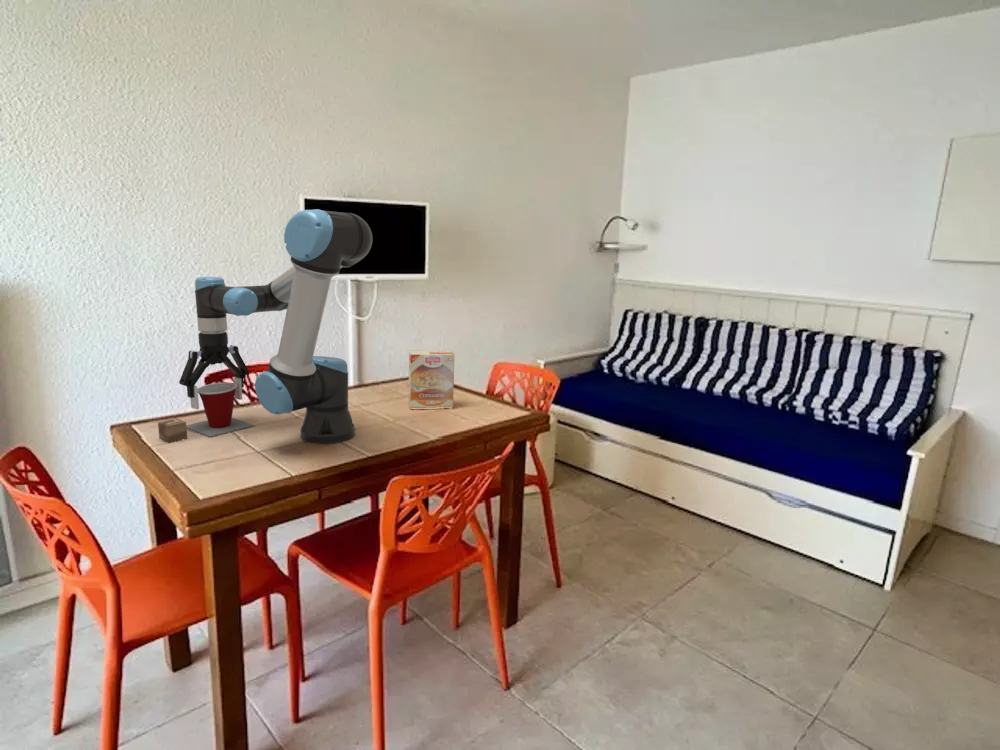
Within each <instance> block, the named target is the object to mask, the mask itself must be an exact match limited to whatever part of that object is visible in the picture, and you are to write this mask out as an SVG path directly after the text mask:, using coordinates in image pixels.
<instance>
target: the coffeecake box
mask: <svg viewBox="0 0 1000 750" xmlns="http://www.w3.org/2000/svg"><path fill="white" fill-rule="evenodd" d="M454 378H455V354H454V352H453V351H452V350H409V351H408V407H409V410H410V409H412V408H436V407H454V383H455V379H454Z"/></svg>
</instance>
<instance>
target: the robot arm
mask: <svg viewBox="0 0 1000 750" xmlns="http://www.w3.org/2000/svg"><path fill="white" fill-rule="evenodd" d="M283 233H284V234H283V241H284V244H286V245H285V249H286V251H287V253H288V255H289V256H290V260H289V261H290V262H291V264H292V265H293V266H291V267H290V268H288V270H286V271H284V272H283V273H282V274H280V275H279V276H278V277H276V278H275V279H274V280H272V281H270V282H269V283H267V284H264V285H262V284H261V285H247V286H246V285H245V286H244V285H243V286H228V285H226V284H225V279H224V278H223V277H219V276H200V277H199V276H198V277H197V278H195V280H194V285H195V287H194V289H195V290H194V295H195V307H196V315H197V319H196V320H197V330H198V331H199V333H198V334H197V335H198V344H199V350H198V351H197V350H196V351H195V350H189V351H188V357H187V358H188V359H187V360H186V363H185V366H184V368H183V371H182V373H181V376H180V379H179V382H178V383H179V385H182V386H185V387H186V393H187V395H186V396H187V397H188V398H189V399H190V408H191V409H195V410H199V409H200V403H199V393H198V388H199V387H198V386H196V384H197V382H198V381H199V379H200V378H201V377H202V375H203V374H204V372H205V371H206V369H207V368H208V367H209V366H211V365H216V364H224V365H225V366H226V367H227V368H228V369H229V370H230V372H232V373H233V375H235V377H234V376H233V383H235V384H236V385H237V387H236V390H235V396H234V399H235V400H239V401H240V400H243V390H242V389H243V388H244V387H245V384H244V383H245V382H244V381H245V380H244V379H246V377H247V376H248V375H250V370H249V369H248V367H247V364H246V363H245V362H244V360H243V358H242V356H241V355H240V351H239V347H238V346H236V345H232V344H230V346H228V344H229V339H228V335H229V334H228V332H227V330H228V321H227V319H228V318H227V315H234V316H237V317H240V316H242V317H243V316H250V315H252V314H255V313H267V312H281V311H284V310H285V311H286V313H285V317H284V322H283V327H282V332H281V338H280V341H279V345H278V346H279V347H278V352H277V354H274V355H273V356H271V358H270V360H269V363H268V369H267V370H264V371H262V372H260V373H259V374H257V376H256V378H255V381H254V385H255V386H254V389H255V394H256V397H257V399H258V401H259V403H260V404H261V405H260V406H262V407H263V408H264V409H265V410H266V411H267V412H269V413H270V414H273V415H283V414H290V413H292V412H295V411H298V410H302V409H306V410H305V414H304V418H303V420H302V421H303V422H302V424H301V426H300V427H301V428H300V431H299V432H300V439H302V440H303V441H305V442H308V443H313V444H337V443H340V442H341V443H342V442H345V441H348V440H350V439H352V438H353V437H354V436H355V433H356V428H355V425H354V422H353V419H352V416H351V413H350V411H349V371H348V363H347V361H346V360H345V359H343V358H339V357H333V356H323V355H321V356H320V355H314V353H315V350H316V345H317V341H318V336H319V332H320V328H321V323H322V320H323V315H324V311H325V306H326V304H327V303H326V302H327V299H328V294H329V289H330V284H331V281H332V278H333V277H336V275H338V274H339V273H340V270H341V269H342V268H351V267H352V266H354V265H355V264H357V263H359V262H360V261H361V260H363V259H364V258H365V257H366V256H367V255H368V254H369V253H370V250H371V248H372V245H373V233H372V230H371V227H370V226H369V224H368V223H367V222H366V221H365V220H364V219H363V218H362V217H361V216H359V215H357V214H355V213H352V212H341V211H340V212H338V211H330V210H321V209H318V208H317V209H315V208H314V209H303V210H299V211H298V212H296V213H295V214H293V215H292V216H291V218H290V219H289V220H288V221H287V224H286V225H285V230H284V232H283ZM228 354H230V355H231V357H232V359H233V361H234V362H235V364H236V365H235V364H234V363H233V362H232V360H231V358H229V356H228ZM199 358H200V359H199ZM198 359H199V361H198ZM197 362H198V363H197ZM196 364H197V365H196Z"/></svg>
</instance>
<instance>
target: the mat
mask: <svg viewBox="0 0 1000 750" xmlns="http://www.w3.org/2000/svg"><path fill="white" fill-rule="evenodd" d="M252 426H253V427H255V424H253V423H251V422H247V421H244V420H240V419H237V418H234V417H232V420H231V425H230V426H228V427H224V428H212V427H210V426H209V423H208V419H207V420H204V421H200V422H195V423H191V424H186V428H187V430H188V429H189V430H188V431H190V430H192V431H191V432H193V431H194V432H193V433H196V432H197V433H196V434H199V433H200V435H202V436H204V435H205V437H207V436H208V438H210V437H211V438H215V437H218V435H219V436H222V434H223V435H226V434H229V432H230V433H233V431H234V432H238V431H241V429H242V430H245V429H249V428H252ZM237 430H238V431H237ZM214 436H215V437H214Z"/></svg>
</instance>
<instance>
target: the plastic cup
mask: <svg viewBox="0 0 1000 750" xmlns="http://www.w3.org/2000/svg"><path fill="white" fill-rule="evenodd" d="M236 387H237V385H236V384H235V383H234V382H225V381H224V382H214V383H209V384H205V385H202V386H199V387H198V396H199V397H200V399H201V402H202V406H203V409H204V412H205V416H206V419H207V420H208V423H209V426H210V427H212V428H224V427H228V426H230V425H231V420H232V418H233V413H234V412H233V411H234V403H235V390H236Z"/></svg>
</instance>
